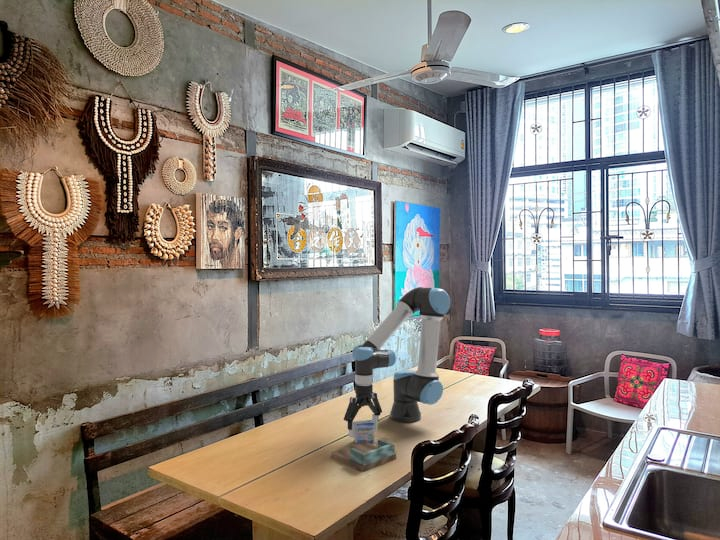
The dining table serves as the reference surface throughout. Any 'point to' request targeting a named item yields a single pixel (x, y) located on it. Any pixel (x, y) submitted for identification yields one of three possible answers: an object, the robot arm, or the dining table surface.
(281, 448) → the dining table surface
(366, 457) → the dock
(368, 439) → the medicine box
